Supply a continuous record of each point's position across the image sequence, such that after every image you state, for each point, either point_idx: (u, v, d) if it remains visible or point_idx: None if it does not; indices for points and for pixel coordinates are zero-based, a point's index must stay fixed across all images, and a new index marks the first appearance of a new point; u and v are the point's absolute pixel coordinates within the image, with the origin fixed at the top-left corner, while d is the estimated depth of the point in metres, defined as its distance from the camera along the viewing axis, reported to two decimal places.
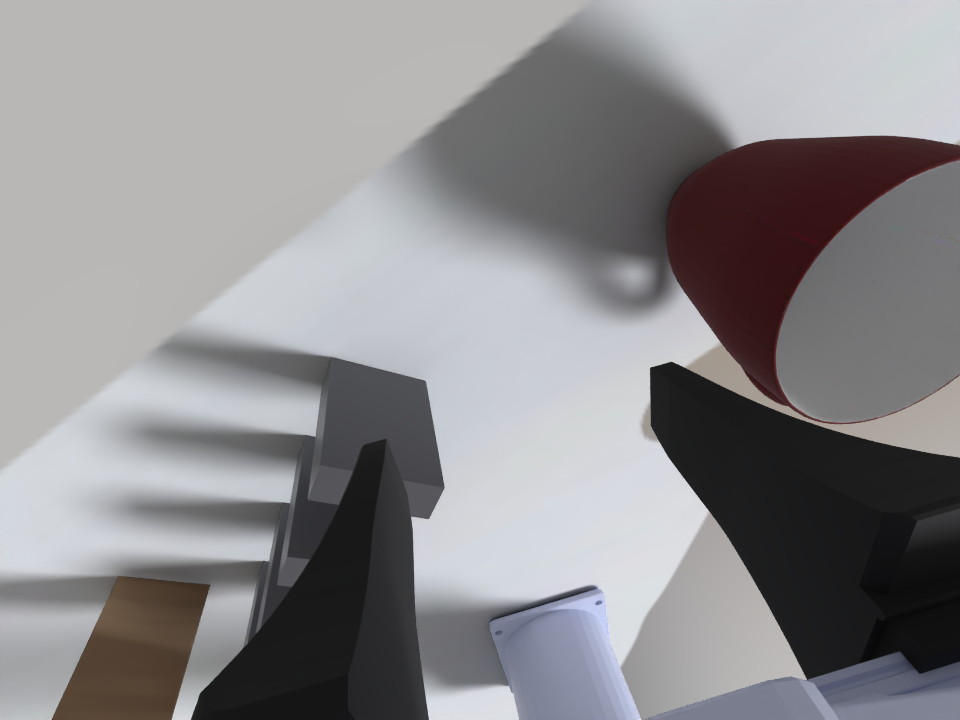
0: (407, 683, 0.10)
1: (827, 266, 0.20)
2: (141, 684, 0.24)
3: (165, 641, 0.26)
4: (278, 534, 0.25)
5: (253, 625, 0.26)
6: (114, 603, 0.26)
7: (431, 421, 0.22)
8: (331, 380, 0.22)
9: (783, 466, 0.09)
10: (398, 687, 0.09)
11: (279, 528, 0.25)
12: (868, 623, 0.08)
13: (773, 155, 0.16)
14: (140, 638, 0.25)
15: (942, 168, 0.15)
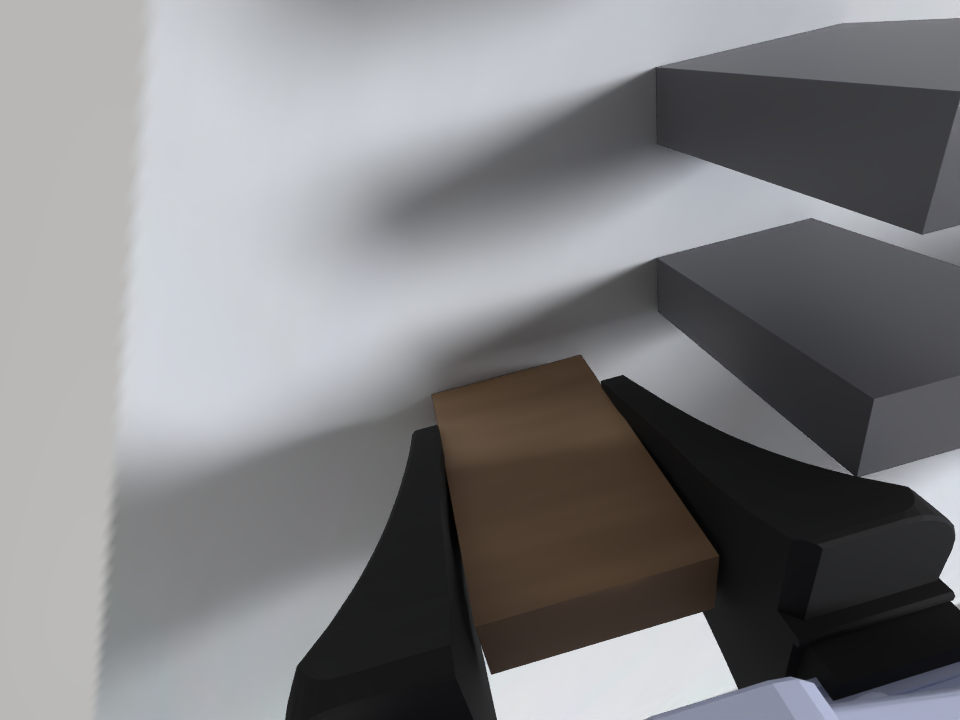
0: (478, 662, 0.10)
1: None
2: (594, 510, 0.10)
3: (579, 440, 0.12)
4: (709, 71, 0.10)
5: (747, 312, 0.11)
6: (451, 424, 0.14)
7: None
8: None
9: (711, 486, 0.09)
10: (474, 664, 0.09)
11: (698, 71, 0.10)
12: (787, 648, 0.08)
13: None
14: (532, 450, 0.12)
15: None
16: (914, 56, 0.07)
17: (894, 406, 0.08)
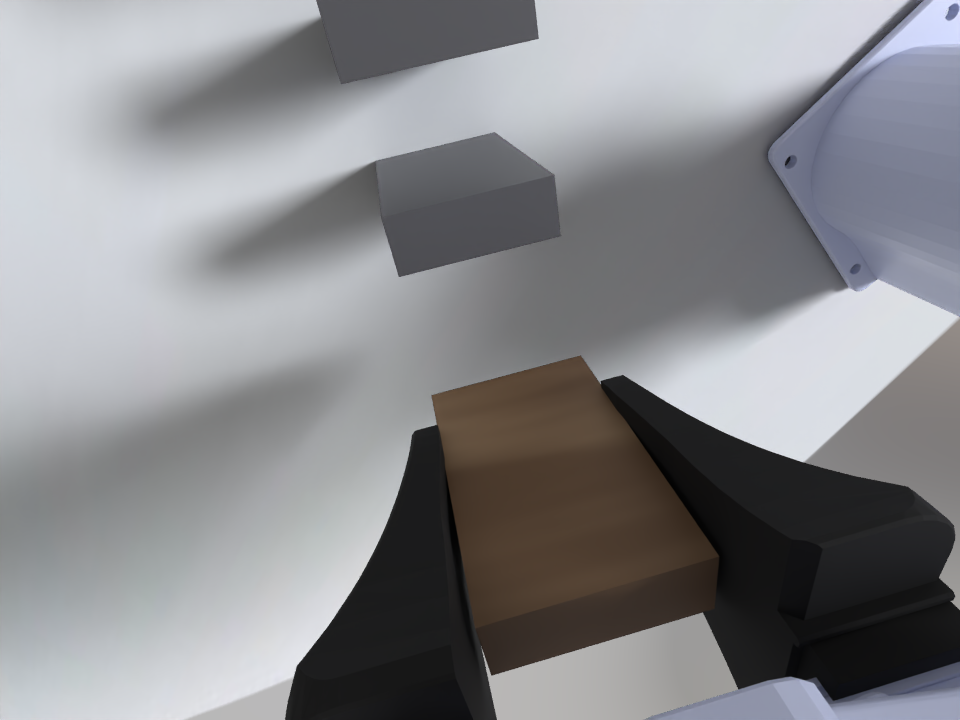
0: (478, 662, 0.10)
1: None
2: (594, 510, 0.10)
3: (579, 440, 0.12)
4: None
5: (381, 185, 0.16)
6: (451, 425, 0.14)
7: None
8: None
9: (711, 486, 0.09)
10: (474, 664, 0.09)
11: None
12: (787, 648, 0.08)
13: None
14: (532, 451, 0.12)
15: None
16: None
17: (399, 224, 0.13)
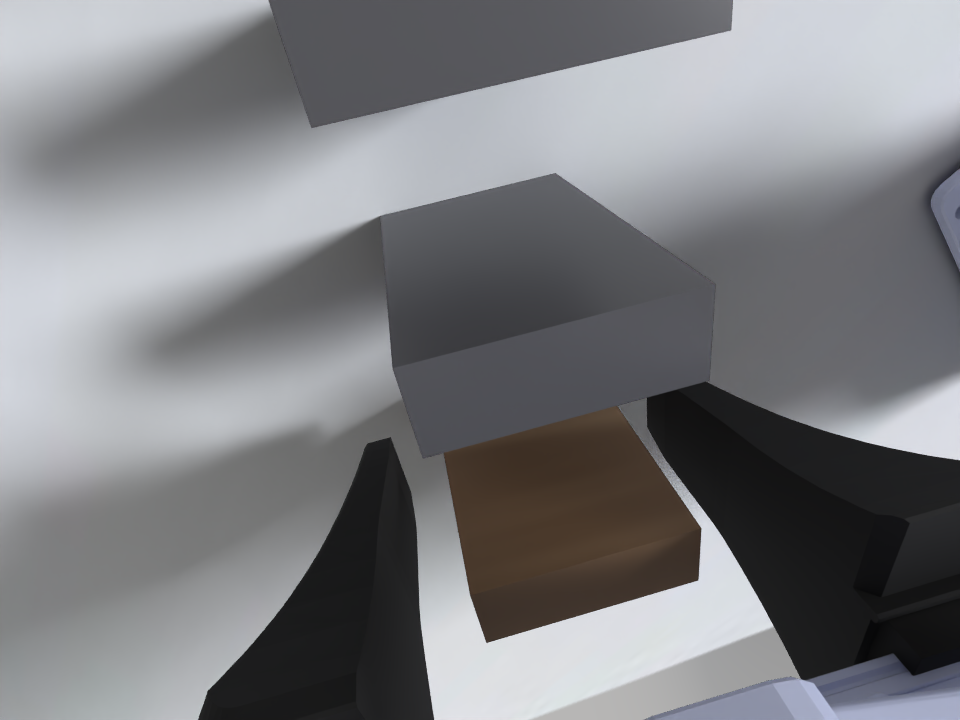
0: (413, 681, 0.10)
1: None
2: (585, 488, 0.11)
3: (571, 423, 0.13)
4: None
5: (391, 272, 0.09)
6: None
7: None
8: None
9: (777, 468, 0.09)
10: (404, 685, 0.09)
11: None
12: (862, 625, 0.08)
13: None
14: (526, 434, 0.13)
15: None
16: None
17: (426, 377, 0.07)
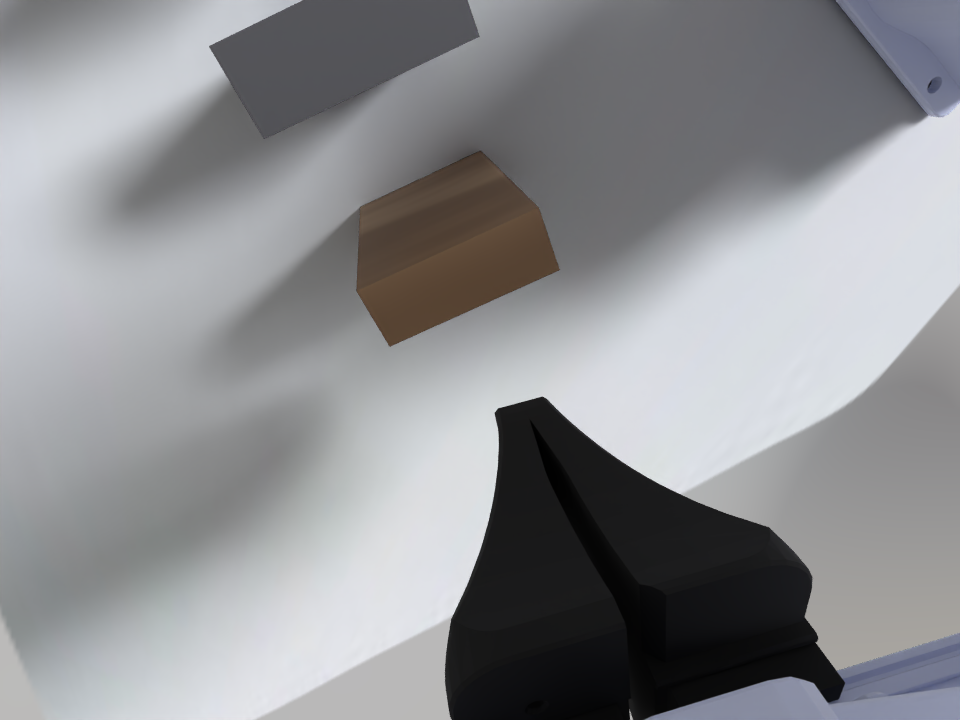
0: None
1: None
2: (459, 217, 0.13)
3: (461, 190, 0.15)
4: None
5: None
6: (370, 215, 0.16)
7: None
8: None
9: (592, 520, 0.09)
10: None
11: None
12: (652, 689, 0.08)
13: None
14: (425, 206, 0.15)
15: None
16: None
17: (238, 53, 0.09)
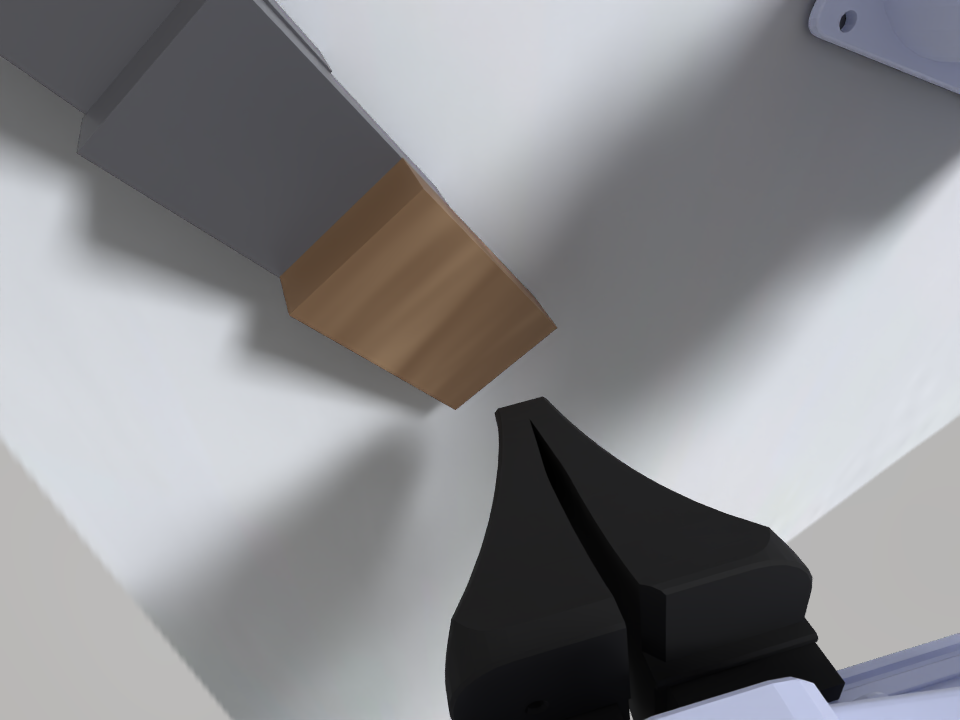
0: None
1: None
2: None
3: None
4: None
5: None
6: None
7: None
8: None
9: (592, 520, 0.09)
10: None
11: None
12: (652, 689, 0.08)
13: None
14: None
15: None
16: None
17: (92, 110, 0.11)
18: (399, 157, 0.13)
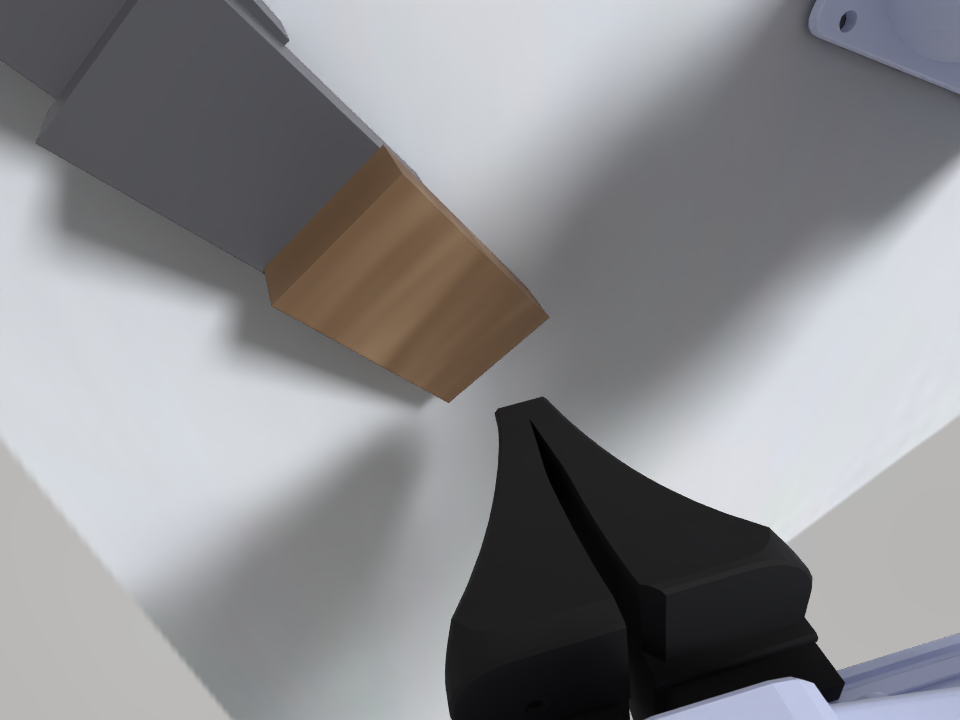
0: None
1: None
2: None
3: None
4: None
5: None
6: None
7: None
8: None
9: (592, 520, 0.09)
10: None
11: None
12: (652, 689, 0.08)
13: None
14: None
15: None
16: None
17: (56, 102, 0.11)
18: (369, 140, 0.12)
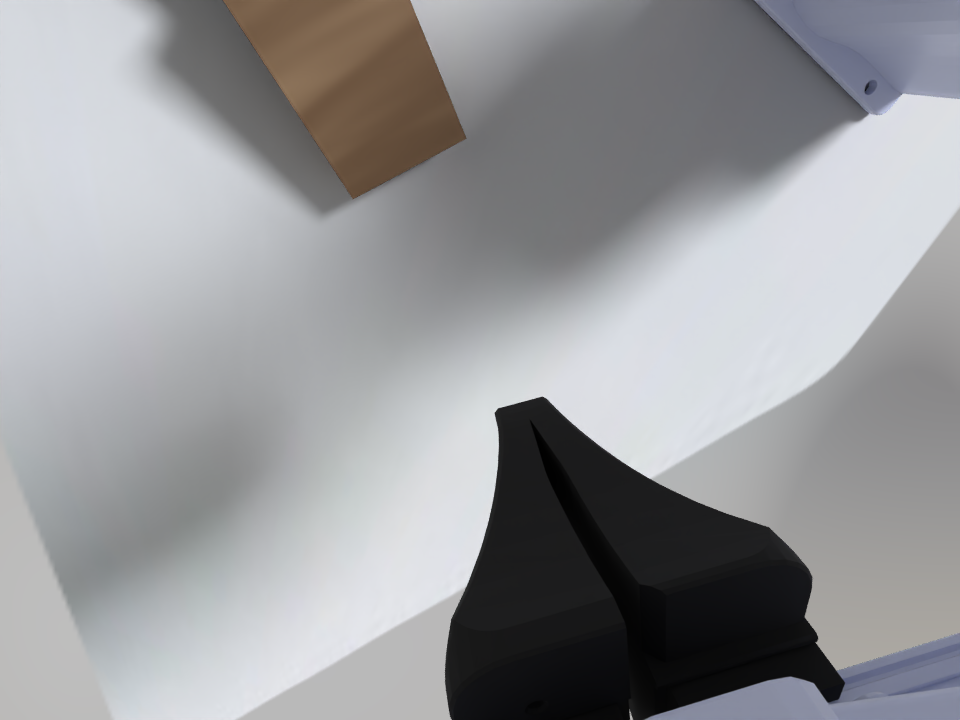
0: None
1: None
2: None
3: None
4: None
5: None
6: None
7: None
8: None
9: (592, 520, 0.09)
10: None
11: None
12: (652, 689, 0.08)
13: None
14: None
15: None
16: None
17: None
18: None
